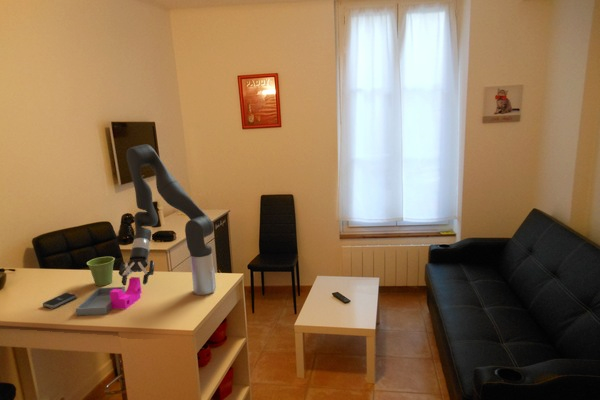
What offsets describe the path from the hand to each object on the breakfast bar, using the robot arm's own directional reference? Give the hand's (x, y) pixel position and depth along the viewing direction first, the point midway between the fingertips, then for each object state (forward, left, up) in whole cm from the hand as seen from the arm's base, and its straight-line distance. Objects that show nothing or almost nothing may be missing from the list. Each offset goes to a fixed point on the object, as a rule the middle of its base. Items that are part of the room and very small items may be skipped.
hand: (134, 284), depth 169 cm
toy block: (+1, +3, -6) cm, 7 cm away
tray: (+12, +5, -6) cm, 14 cm away
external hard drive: (+31, +2, -6) cm, 32 cm away
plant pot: (+21, -17, -6) cm, 28 cm away
